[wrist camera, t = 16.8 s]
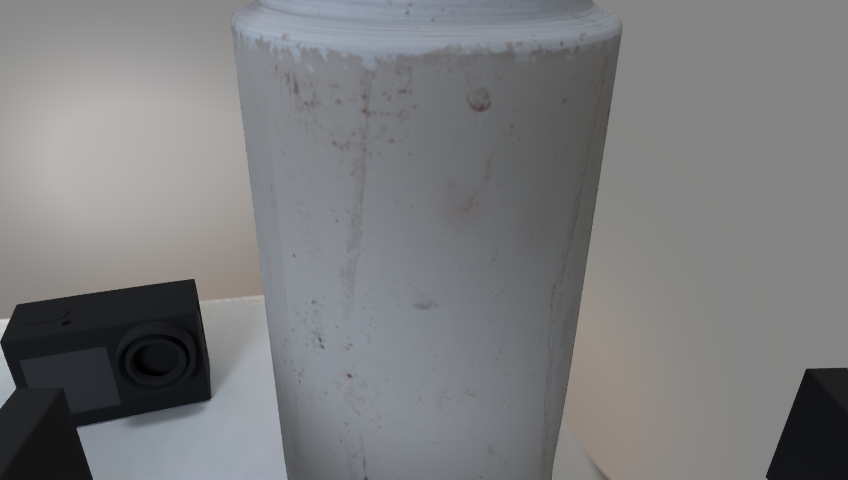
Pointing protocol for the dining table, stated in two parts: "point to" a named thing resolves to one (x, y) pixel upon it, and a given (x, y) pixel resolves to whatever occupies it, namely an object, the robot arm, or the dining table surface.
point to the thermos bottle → (423, 224)
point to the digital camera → (113, 350)
